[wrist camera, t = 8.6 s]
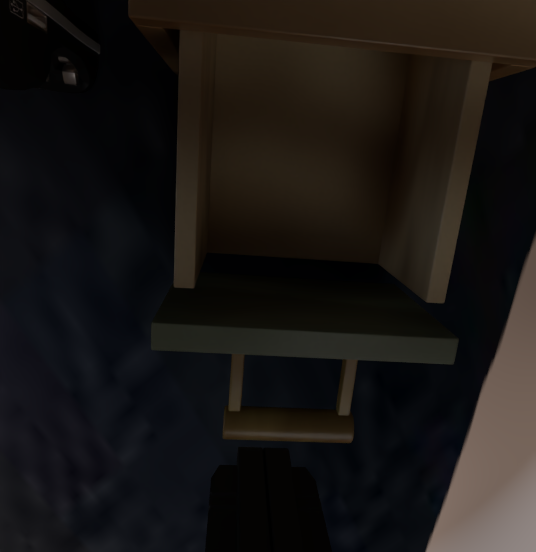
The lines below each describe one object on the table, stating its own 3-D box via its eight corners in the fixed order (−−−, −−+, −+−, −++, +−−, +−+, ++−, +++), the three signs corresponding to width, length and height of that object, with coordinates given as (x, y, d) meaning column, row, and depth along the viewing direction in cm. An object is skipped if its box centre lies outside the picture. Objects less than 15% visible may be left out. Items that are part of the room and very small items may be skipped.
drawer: (376, 391, 27) (428, 483, 20) (176, 383, 26) (149, 475, 19) (440, 10, 22) (547, -70, 14) (187, -19, 21) (154, -121, 13)
